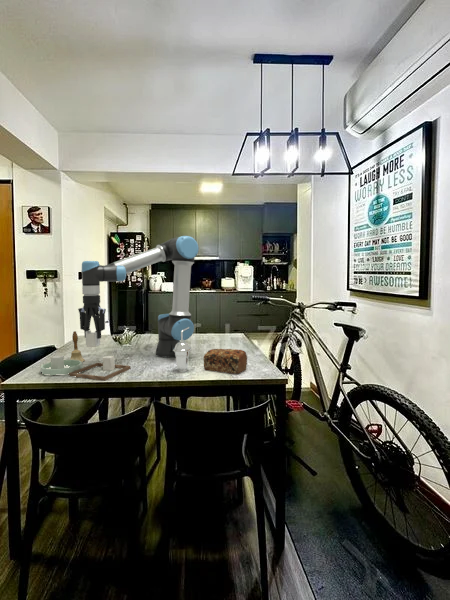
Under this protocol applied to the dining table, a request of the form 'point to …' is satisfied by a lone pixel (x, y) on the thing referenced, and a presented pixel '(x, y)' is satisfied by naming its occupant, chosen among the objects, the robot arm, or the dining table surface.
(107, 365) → the white upright block
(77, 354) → the hand bell
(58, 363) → the white rectangular block
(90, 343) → the white block
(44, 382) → the dining table surface
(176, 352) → the cup with straw
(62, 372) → the bowl
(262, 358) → the dining table surface
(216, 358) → the bread
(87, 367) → the tray
